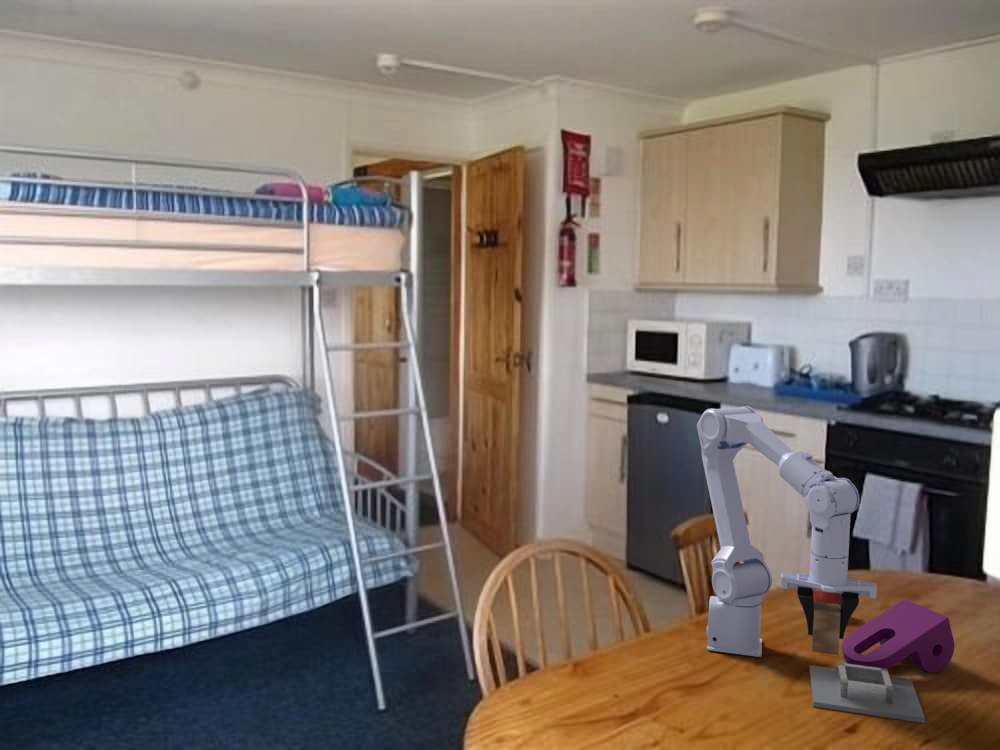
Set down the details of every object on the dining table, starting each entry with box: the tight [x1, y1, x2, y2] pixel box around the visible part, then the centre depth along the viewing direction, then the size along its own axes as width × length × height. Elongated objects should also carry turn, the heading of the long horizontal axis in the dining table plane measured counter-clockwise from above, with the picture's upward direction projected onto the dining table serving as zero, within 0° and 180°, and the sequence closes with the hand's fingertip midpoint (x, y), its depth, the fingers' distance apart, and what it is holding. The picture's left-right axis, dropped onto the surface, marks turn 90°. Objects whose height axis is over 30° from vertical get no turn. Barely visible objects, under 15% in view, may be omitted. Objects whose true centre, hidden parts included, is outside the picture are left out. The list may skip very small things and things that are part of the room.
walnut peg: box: [810, 602, 841, 656], centre depth 142 cm, size 4×4×7 cm
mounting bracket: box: [841, 598, 955, 673], centre depth 152 cm, size 9×8×18 cm
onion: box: [813, 590, 841, 607], centre depth 175 cm, size 6×6×8 cm
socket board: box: [809, 662, 926, 724], centre depth 141 cm, size 16×14×3 cm
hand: (825, 634), depth 142 cm, fingers closed on walnut peg, 4 cm apart
